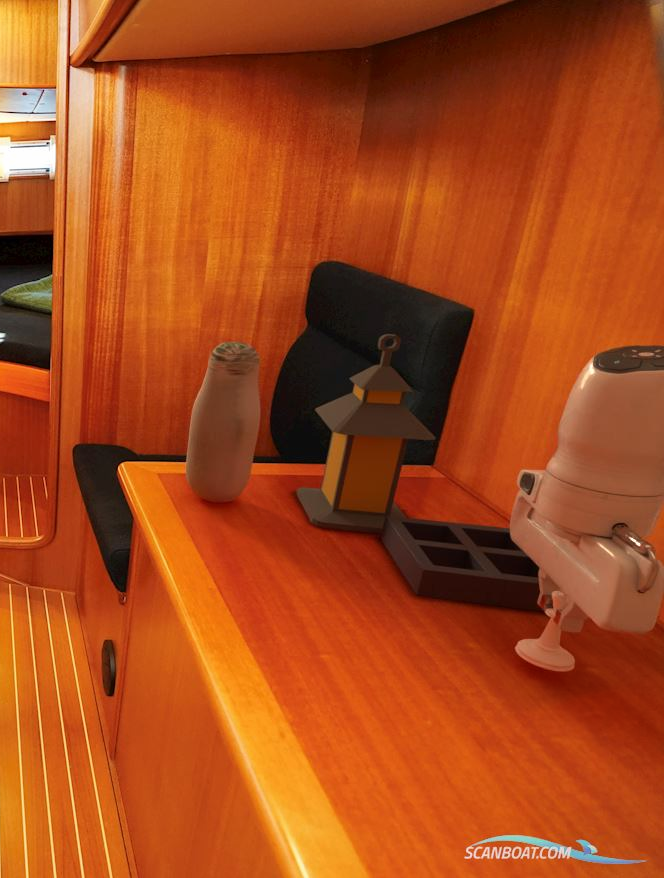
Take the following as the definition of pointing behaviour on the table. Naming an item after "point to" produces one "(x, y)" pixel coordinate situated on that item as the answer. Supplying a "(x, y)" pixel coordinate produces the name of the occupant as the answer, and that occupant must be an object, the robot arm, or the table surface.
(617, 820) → the table surface
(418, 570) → the compartment tray
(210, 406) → the beige bottle
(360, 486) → the lantern
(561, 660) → the chess piece
